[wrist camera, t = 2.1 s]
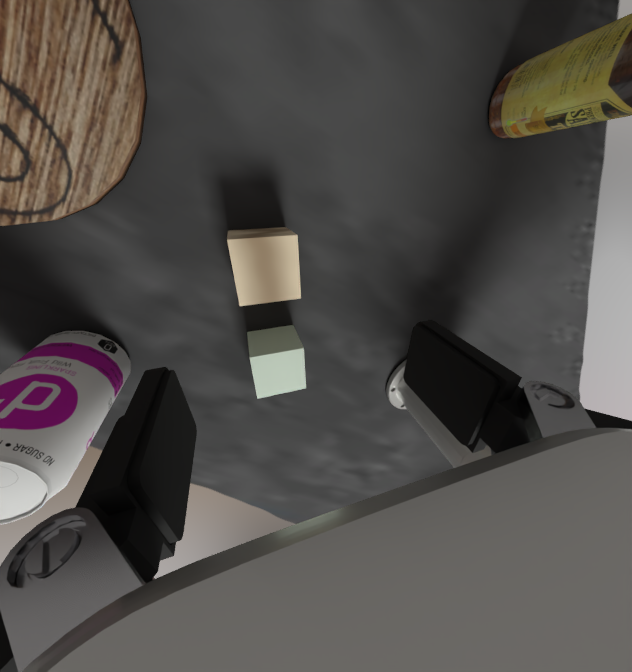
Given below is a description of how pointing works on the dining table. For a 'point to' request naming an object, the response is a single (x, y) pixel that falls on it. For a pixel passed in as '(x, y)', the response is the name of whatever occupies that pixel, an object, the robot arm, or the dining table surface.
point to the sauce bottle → (568, 85)
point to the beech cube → (265, 264)
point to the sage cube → (276, 360)
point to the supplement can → (53, 415)
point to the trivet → (67, 104)
